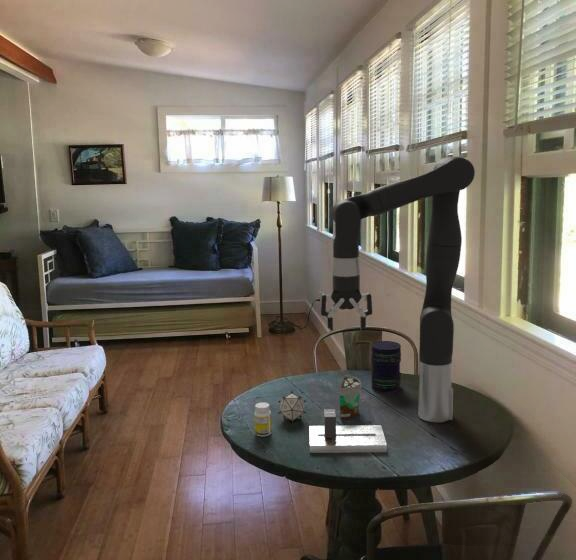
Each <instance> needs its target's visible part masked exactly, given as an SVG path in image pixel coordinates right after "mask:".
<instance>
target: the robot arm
mask: <svg viewBox="0 0 576 560" xmlns="http://www.w3.org/2000/svg"><path fill="white" fill-rule="evenodd" d="M475 171H476V170H475V167H474V165H473V163H472V162H471V161H470V160H468V159H467V158H465V157H461V156H446V157H445V156H444V157H443V158H441V159H439V160H438V162H437V163H436V164H434V168H433V170H431V171H428V172H426V173H423V174H421V175H417V176H415V177H411V178H408V179H407V178H406V179H403V180H402V179H401V180H399V181H396V182H391V183H387V184H385V185H382V186H379V187H377V188H375V189H372V190H370V191H367V192H365V193H362V194H357V195H355V196H350V197H347V198H344V199H342V200H339V201H337V202H336V203H334V205H333V206H332V207H331V212H330V213H331V218H332V221H333V222H334V223H335V225H334V226H335V227H334V228H335V229H334V230H335V231H334V233H335V234H334V235H335V236H334V238H333V242H332V244H333V245H332V246H333V247H332V250H333V251H332V254H333V255H332V272H331V273H332V292H331V294H327V293H325V292H323V293H321V302H320V303H321V304H320V314H321V316H322V317H326V318H327V328H328V329H330V332H331V331H333V330H334V329H333V328H334V323H333V322H334V321H333V319H334V318H333V316H334V315H335V314H336V313H337V311H338V309H340V310H353V309H355V310H356V312H358V314H359V315H360V316H359V319H360V320H359V328H360V331H364V329H365V328H366V326H367V324H366V323H367V322H366V321H367V320H366V319H367V317H368V316H370V315H372V314H373V301H372V294H371V292H369V291H367V292H366V293H361V288H360V287H361V283H360V282H361V281H360V280H361V279H360V278H361V277H360V274H361V268H360V257H359V255H360V250H359V249H360V246H359V245H360V244H359V237H360V232H361V231H360V230H361V220H363V219H366V218H368V217H375V216H380V215H383V214H385V213H388V212H391V211H394V210H396V209H399V208H402V207H403V206H407V205H410V204H412V203H414V202H416V201H417V202H418V201H420V200H423V199H425V198H426V199H427V198H430V197H432V201H431V202H432V205H431V206H432V207H431V213H430V221H429V227H428V228H429V229H428V239H427V245H426V257H425V259H426V260H425V277H426V284H425V285H426V286H425V292H424V293H425V294H424V299H423V304H422V308H421V312H420V317H419V352H418V354H419V355H418V357H419V358H418V360H419V362H418V406H417V408H418V417H419V419H421V420H422V421H426V422H430V423H445V422H447V421H452V420H453V406H454V405H453V402H454V401H453V400H454V388H453V387H452V369H453V366H452V365H453V354H454V353H453V352H454V333H455V332H454V329H455V328H454V325H455V324H454V320H453V315H452V294H453V293H452V291H453V287H454V283H455V279H456V276H457V272H458V269H459V265H460V260H461V251H462V250H461V249H462V243H463V242H462V239H463V238H462V230H461V224H460V219H459V212H458V210H459V197H460V192H461V191H463V190H465V189H466V188H469V186H470V185H471V184H472V182H473V181H474V178H475V176H476V175H475V173H476V172H475ZM361 299H363V300H364V302H366V310H365V309H364V310H363V308H362V306H361V305H360V304H359V302H360V301H361ZM330 300H332V302H333V304H332V306H331V308H330V309H329V310H328V311H327V310H326V309H327V303H328V302H329V301H330Z"/></svg>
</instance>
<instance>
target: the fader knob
mask: <svg viewBox="0 0 576 560" xmlns="http://www.w3.org/2000/svg"><path fill="white" fill-rule="evenodd" d="M323 426H324V434H325V438H336V426H337V416H336V409H335V408H330V409H329V408H328V409H327V408H326V409H323Z"/></svg>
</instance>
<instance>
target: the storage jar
mask: <svg viewBox="0 0 576 560" xmlns="http://www.w3.org/2000/svg"><path fill="white" fill-rule="evenodd" d="M401 349H402V347H401V343H399V342H398V341H397V342H396V341H392V340H379V341H378V340H377V341H374V342H372V343H371V352H370V356H371V357H370V359H371V372H370V373H371V374H370V376H371V377H370V381H371V383H370V384H371V387H370V388H371V389H372V391H375V392H377V393H382V394H383V393H384V394H392V393H397V392H399V391H400V390H401V382H402V381H401V380H402V377H401V376H402V374H401V360H402V358H401V357H402V352H401Z"/></svg>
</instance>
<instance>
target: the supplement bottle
mask: <svg viewBox="0 0 576 560" xmlns="http://www.w3.org/2000/svg"><path fill="white" fill-rule="evenodd" d="M254 407H255V408H254V414H253V417H254V418H253V419H254V433H255V435H256V434H257V435H256V436H258V437H267V436H270V435H272V432H273V427H272V412H271V410H270V404H269V403H268V402H264V401H263V402H258V403H256V404H255V406H254Z"/></svg>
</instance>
